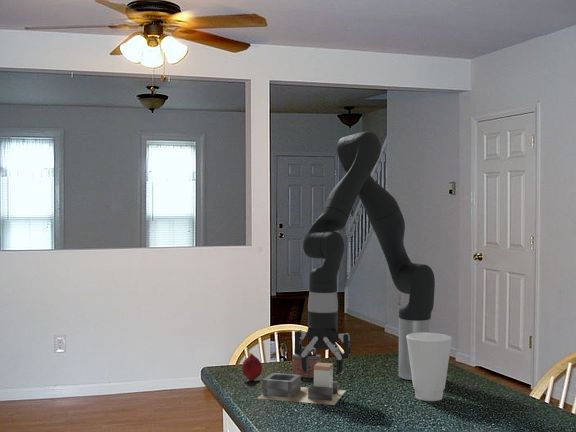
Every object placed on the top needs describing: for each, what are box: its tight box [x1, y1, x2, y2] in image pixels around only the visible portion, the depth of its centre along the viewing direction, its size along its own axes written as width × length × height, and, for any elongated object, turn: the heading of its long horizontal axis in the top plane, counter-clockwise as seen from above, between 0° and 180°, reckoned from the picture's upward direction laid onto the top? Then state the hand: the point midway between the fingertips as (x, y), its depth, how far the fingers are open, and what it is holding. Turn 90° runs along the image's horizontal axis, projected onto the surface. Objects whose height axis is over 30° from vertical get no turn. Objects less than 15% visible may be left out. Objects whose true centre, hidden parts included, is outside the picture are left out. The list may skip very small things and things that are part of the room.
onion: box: [241, 352, 263, 382], centre depth 202 cm, size 6×6×8 cm
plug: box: [313, 362, 334, 395], centre depth 181 cm, size 4×4×8 cm
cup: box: [406, 332, 453, 402], centre depth 185 cm, size 12×12×16 cm
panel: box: [256, 372, 347, 406], centre depth 182 cm, size 20×14×6 cm
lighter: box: [291, 345, 322, 379], centre depth 202 cm, size 8×3×10 cm, turn 84°
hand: (322, 372), depth 181 cm, fingers open, 8 cm apart
